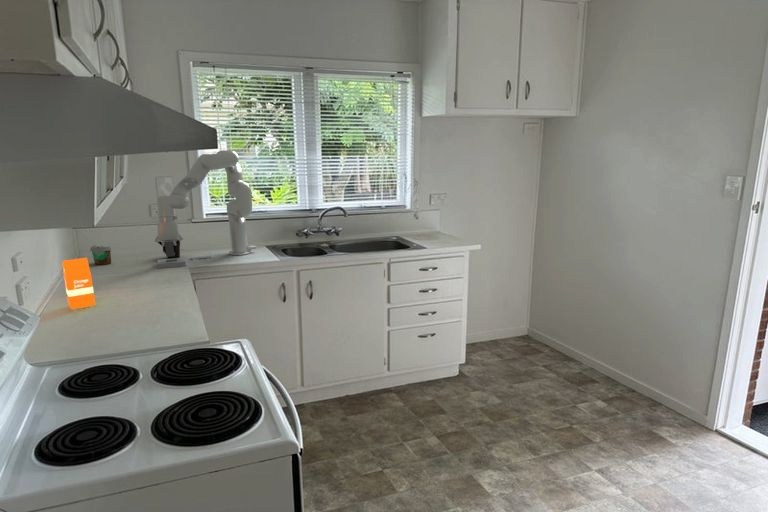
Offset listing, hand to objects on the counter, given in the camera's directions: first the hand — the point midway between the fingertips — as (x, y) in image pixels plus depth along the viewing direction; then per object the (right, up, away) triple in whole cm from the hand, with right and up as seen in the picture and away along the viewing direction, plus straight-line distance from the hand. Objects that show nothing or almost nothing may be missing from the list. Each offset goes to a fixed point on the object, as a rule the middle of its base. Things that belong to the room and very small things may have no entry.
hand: (170, 252), depth 273 cm
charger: (0, -2, 0) cm, 2 cm away
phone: (+10, -4, +17) cm, 20 cm away
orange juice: (-9, -23, -65) cm, 69 cm away
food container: (-40, -7, +5) cm, 41 cm away
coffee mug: (-6, -3, +20) cm, 21 cm away
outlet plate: (0, -7, +2) cm, 7 cm away
